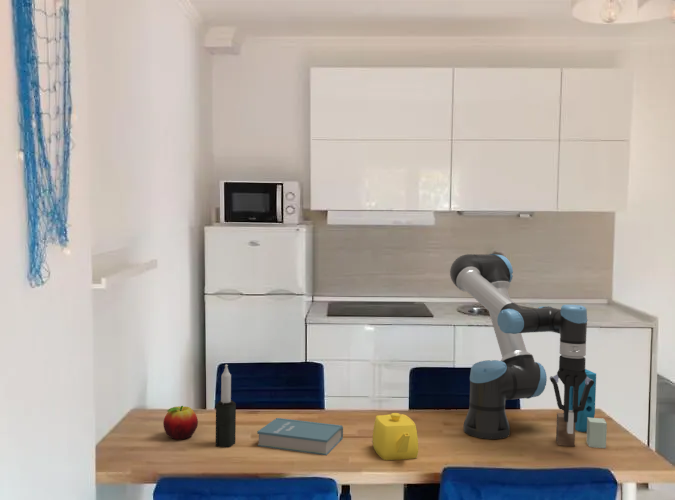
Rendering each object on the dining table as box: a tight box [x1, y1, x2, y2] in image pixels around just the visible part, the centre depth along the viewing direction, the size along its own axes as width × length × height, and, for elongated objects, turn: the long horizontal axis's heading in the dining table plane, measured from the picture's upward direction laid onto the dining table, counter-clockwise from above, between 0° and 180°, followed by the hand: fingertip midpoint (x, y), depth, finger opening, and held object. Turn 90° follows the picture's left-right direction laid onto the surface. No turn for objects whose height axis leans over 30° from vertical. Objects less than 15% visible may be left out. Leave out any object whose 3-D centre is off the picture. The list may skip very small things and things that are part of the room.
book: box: [256, 417, 344, 456], centre depth 205 cm, size 23×16×5 cm
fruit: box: [163, 405, 199, 440], centre depth 208 cm, size 11×11×10 cm
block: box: [569, 368, 597, 433], centre depth 225 cm, size 12×5×20 cm, turn 8°
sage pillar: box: [585, 417, 608, 449], centre depth 207 cm, size 5×5×8 cm
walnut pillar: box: [555, 412, 576, 447], centre depth 208 cm, size 5×5×9 cm
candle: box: [215, 364, 237, 448], centre depth 201 cm, size 5×5×25 cm
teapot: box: [371, 412, 419, 461], centre depth 197 cm, size 20×12×12 cm, turn 12°
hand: (569, 432), depth 199 cm, fingers closed
